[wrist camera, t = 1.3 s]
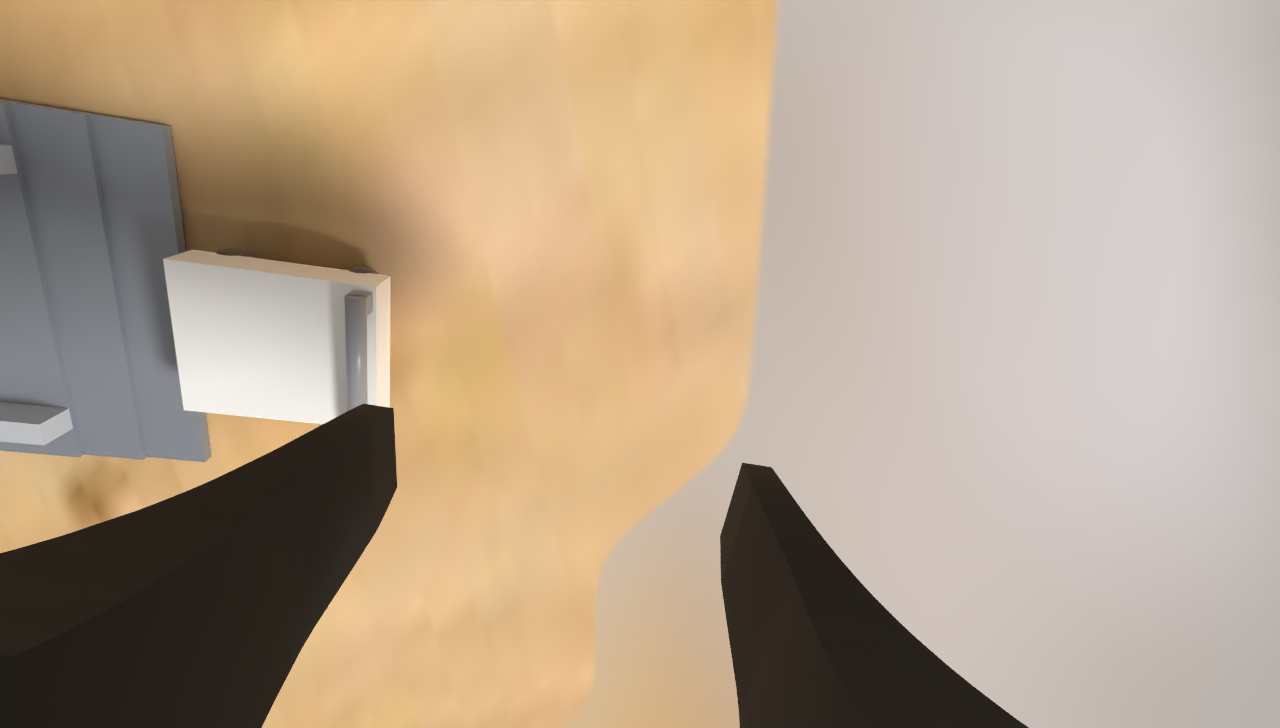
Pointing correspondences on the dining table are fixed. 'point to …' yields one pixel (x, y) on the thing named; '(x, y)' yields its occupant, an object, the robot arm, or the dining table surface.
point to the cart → (278, 336)
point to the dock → (89, 288)
